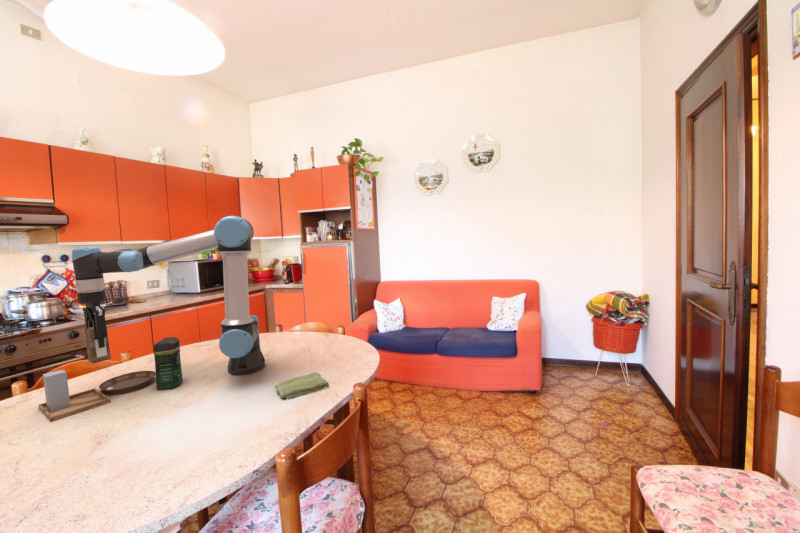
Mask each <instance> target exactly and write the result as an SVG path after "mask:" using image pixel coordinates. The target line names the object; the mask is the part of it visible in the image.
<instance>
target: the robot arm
mask: <svg viewBox="0 0 800 533" xmlns="http://www.w3.org/2000/svg"><path fill="white" fill-rule="evenodd" d="M254 235H255V230H254V227H253V225H252V224H251V223H250V221H248V220H247V219H246V218H243V217H240V216H237V215H228V216H224V217H222V218H220V219H219V220H218V221H217V222H216V224H215V225H214V229H211V230H207V231H204V232H201V233H196V234H193V235H189V236H186V237H182V238H181V237H180V238H176V239H173V240H170V241H167V242H166V241H165V242H163V243H159V244H154V245H151V246H148V247H143V248H139V249H134V250H119V251H118V250H117V251H106V252H105V251H101V249H100V247H98V246H94V247H93V246H90V247H87V246H86V247H75V248H73V249H72V251H71V262H72V266H73V273H74V280H75V282H74V283H73V286H74V287H75V289H76V292H77V294H76V299H77V303H78V304H83V305H84V304H85V307H82V311H83V316H84V323H85V328H89V327H93V328H94V333H95V338H93V340H95V347H96V354H97V358H98V357H102V356H106V355H107V349H106V342H105V337H106V336H107V332H108V329H107V330H106V326H107V324H106V323H107V322H106V309H105V308H103V306H102V305H101V302H104V301H106V300H107V295H106V294H107V293H106V291H105V290H104V289H106V285H105V279H104V274H113V273H133V272H139V271H141V270H145V269H147V268H150V267H153V266H156V265H159V264H163V263H167V262H171V261H175V260H178V259H182V258H185V257H190V256H193V255H196V254H201V253H204V252H207V251H211V250H215V249H217V252H218V254H220V255H221V256H222V268H223V269H222V272H223V275H222V276H223V294H224V295H223V297H224V318H223V320H222V321H221V323H220V328H221V330H220V331H221V334H220V335H221V336H220V338H219V342H218V347H219V350H220V352H221V353H222V354H223V355H224V356H225V357H228V358H229V360H228V363H227V366H226V367H227V369H226V370H227V372H228V374H230V375H235V376H236V375H237V376H239V375H240V376H241V375H248V374H251V373H255V372H258V371H260V370H263V369H264V368H265V367H266V359H265V357H264V354H263V352H262V349H261V343H260V342H261V341H260V329H259V328H260V326H259V323H260V321H259V317H258V316H257V315H253V314H251V315H250V298H249V297H250V295H249V272H248V271H249V270H248V268H249V266H248V265H249V264H248V255H250V253H252V240H253V237H254Z"/></svg>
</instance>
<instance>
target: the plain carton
mask: <svg viewBox="0 0 800 533" xmlns="http://www.w3.org/2000/svg"><path fill="white" fill-rule="evenodd" d="M42 378H43V379H42V380H43V387H44V395H45V403H46V404H47V409H48V410H49V411H50V412H51V411H54V410H58V409H61V408H64V407H67V406H70V398H69V396H70V391H69V390H70V389H69V383H68V374H67V371H65V369H61V370H60V369H59V370H55V371H51V372H47V373H42Z"/></svg>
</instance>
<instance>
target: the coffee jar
mask: <svg viewBox="0 0 800 533" xmlns="http://www.w3.org/2000/svg"><path fill="white" fill-rule="evenodd" d="M152 347H153V356H154V364H155V366H154V367H155V373H156V375H155V385H156V386H155V387H156V389H157V390H164V391H165V390H170V389H174V388H176V387H178V386H180V384H181V383H182V382H183V370H182V360H181V344H180V339H179V338H177V337H176V336H170V337H163V338H162V339H160V340H159V341H157V342H156V343H154V344H153V346H152Z"/></svg>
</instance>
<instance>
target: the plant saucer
mask: <svg viewBox="0 0 800 533" xmlns="http://www.w3.org/2000/svg"><path fill="white" fill-rule="evenodd" d="M155 378H156V371H153V370H140V371H133V372H128V373H123V374H119V375H117V376H114V377H112V378H109V379H106V380H104V382H101V383H100V384H99V385H98V389H99V391H100V392H102V393H104V394H105V393H106V394H108V395H115V394H116V395H119V394H125V393H129V392H133V391H137V390H139V389H142V388H145V387H146V386H148V385H150V383H151V384H152V381H154V379H155Z"/></svg>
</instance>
